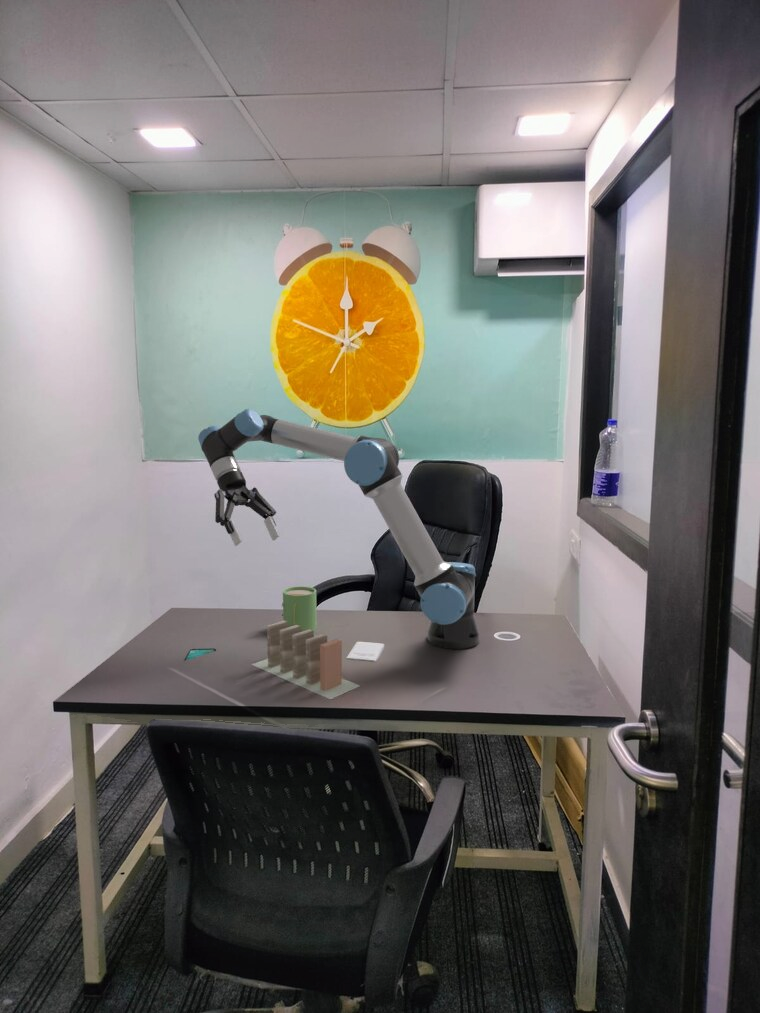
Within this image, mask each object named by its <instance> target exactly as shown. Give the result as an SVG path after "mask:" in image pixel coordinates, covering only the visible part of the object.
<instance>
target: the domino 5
mask: <svg viewBox="0 0 760 1013" xmlns="http://www.w3.org/2000/svg"><path fill="white" fill-rule="evenodd" d="M342 644H343V643H342V640H341V639H338V638H336V639H334V640H330V641H327V643H324V644H321V645H320V689H322V690H324V691H326V690H328V689H331V688H333V687H335V686H338V685H340V684H342V679H343V678H342V675H343V674H342V673H343V669H342V668H343V667H342V666H343V665H342V664H343V662H342V661H343V660H342V658H343V657H342V656H343V653H342V652H343V651H342V649H343V648H342V646H343V645H342Z"/></svg>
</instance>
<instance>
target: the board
mask: <svg viewBox="0 0 760 1013" xmlns="http://www.w3.org/2000/svg"><path fill="white" fill-rule="evenodd" d="M251 665H252V666H253V667H256V668H258V669H260V670H263V671H265V672H268V673H270V674H271V675H274V676H276V677H279V678H281V679H284V680H285V681H288V682H290V683H292V684H294V685H297V686H299V687H302V688H304V689H306V690H308V691H310V692H313V693H315V694H317V695H319V696H321V697H323V698H326V699H328V700H333V699H335V698H337V697H339V696H341V695H344V694H345V693H348V692H350V691H352V690H355V689H357V688H359V687H360V685H359V684H357V683H355V682H352V681H349V680H347V679H344V678H342V684H340V685H338V686H335V687H333V688H331V689H328V690H326V691H324V690H322V689H320V681H318V682H316V683H314V684H311V685H310V684H308V683H306V676H303V677H301V678H298V679H296V678H294V677H293V670H292V671H289V672H287V673H282V672H280V665H278V666H276V667H273V668H271V667H269V666H268V658H265V659H263V660H260V661H258V662H253V663H251Z"/></svg>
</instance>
